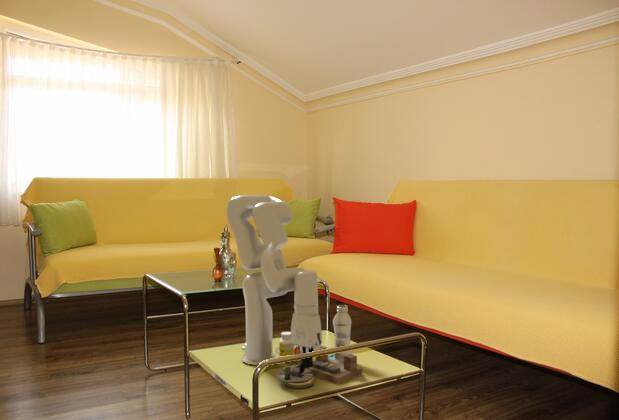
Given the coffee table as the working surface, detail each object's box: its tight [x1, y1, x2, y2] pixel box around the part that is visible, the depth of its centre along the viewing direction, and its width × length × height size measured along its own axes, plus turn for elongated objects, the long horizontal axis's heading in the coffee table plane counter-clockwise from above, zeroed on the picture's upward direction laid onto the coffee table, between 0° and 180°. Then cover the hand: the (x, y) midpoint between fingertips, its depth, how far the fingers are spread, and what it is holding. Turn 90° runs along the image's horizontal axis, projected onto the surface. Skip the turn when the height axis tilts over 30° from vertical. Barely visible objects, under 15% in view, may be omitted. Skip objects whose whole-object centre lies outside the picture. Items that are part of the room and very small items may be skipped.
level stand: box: [305, 345, 363, 385], centre depth 178 cm, size 18×12×6 cm, turn 45°
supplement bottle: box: [278, 331, 295, 357], centre depth 191 cm, size 5×5×10 cm
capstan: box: [276, 359, 315, 389], centre depth 168 cm, size 12×12×6 cm
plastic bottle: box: [332, 304, 353, 363], centre depth 188 cm, size 6×7×20 cm
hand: (307, 366), depth 170 cm, fingers closed
